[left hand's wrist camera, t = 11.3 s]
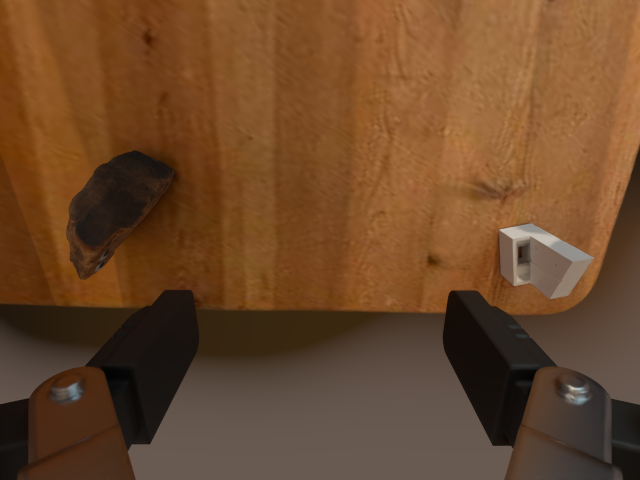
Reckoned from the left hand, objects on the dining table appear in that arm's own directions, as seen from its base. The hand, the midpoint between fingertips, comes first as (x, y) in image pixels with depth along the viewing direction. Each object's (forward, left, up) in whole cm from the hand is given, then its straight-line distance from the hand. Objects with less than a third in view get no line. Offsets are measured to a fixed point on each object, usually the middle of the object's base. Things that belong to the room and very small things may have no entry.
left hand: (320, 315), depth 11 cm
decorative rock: (-13, +16, -30) cm, 36 cm away
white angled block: (+3, -25, -30) cm, 39 cm away
